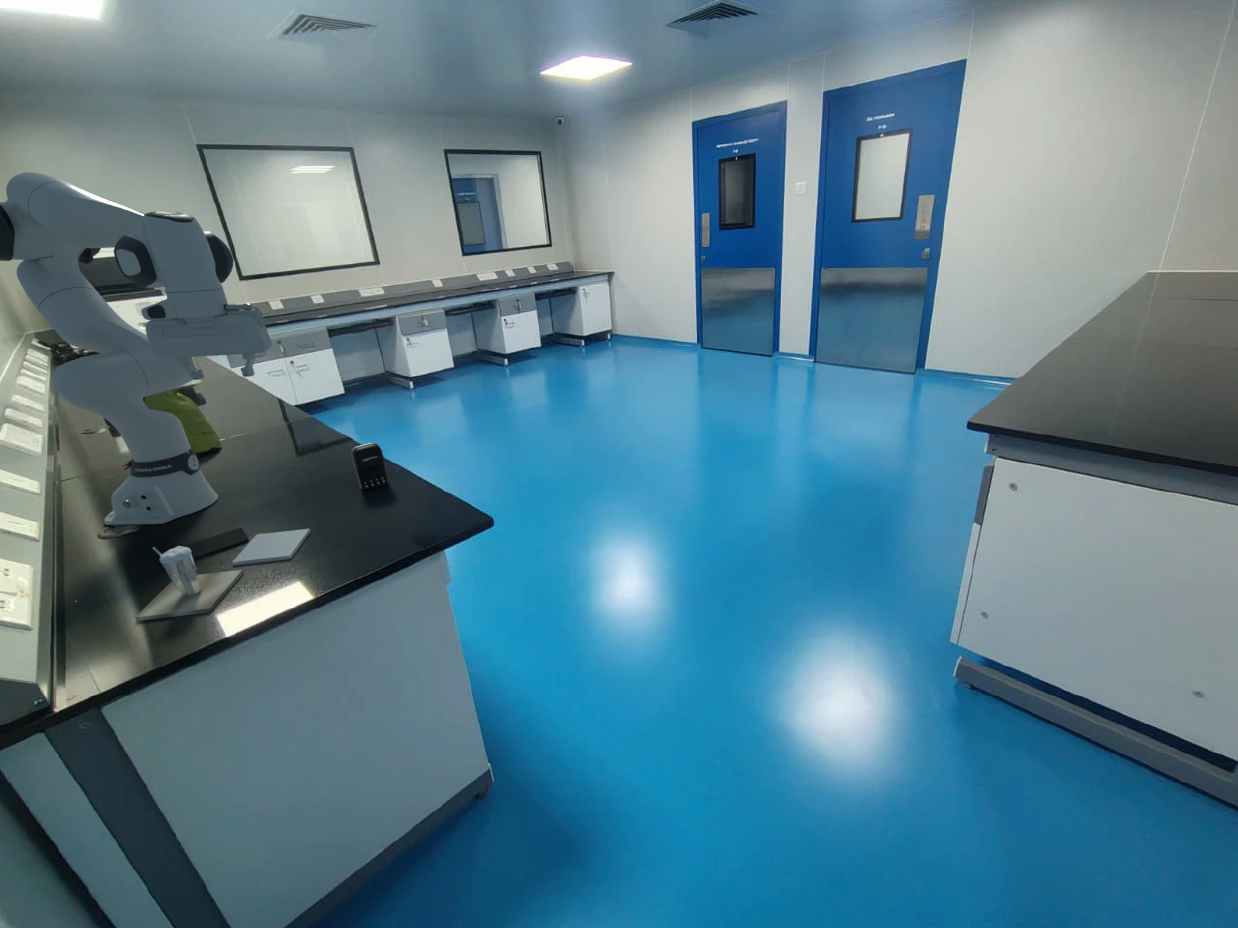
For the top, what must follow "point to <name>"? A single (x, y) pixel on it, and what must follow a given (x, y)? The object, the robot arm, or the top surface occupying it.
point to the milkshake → (181, 570)
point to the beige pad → (203, 602)
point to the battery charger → (369, 466)
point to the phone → (216, 543)
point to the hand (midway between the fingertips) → (223, 377)
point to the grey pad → (272, 547)
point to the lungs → (186, 418)
